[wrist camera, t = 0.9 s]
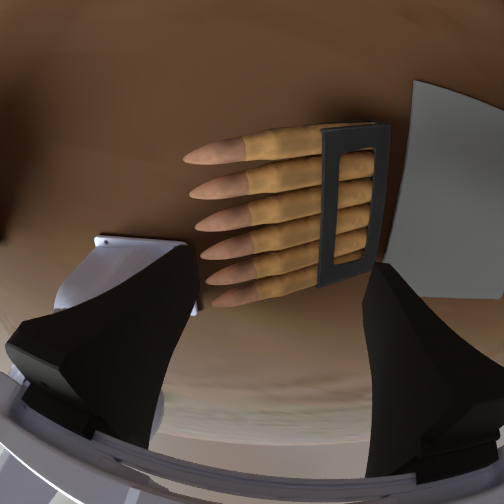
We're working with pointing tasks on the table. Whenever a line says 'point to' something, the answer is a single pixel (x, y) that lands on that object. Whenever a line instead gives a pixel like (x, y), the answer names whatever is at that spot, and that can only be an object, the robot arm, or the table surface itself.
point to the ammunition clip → (298, 206)
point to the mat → (451, 198)
